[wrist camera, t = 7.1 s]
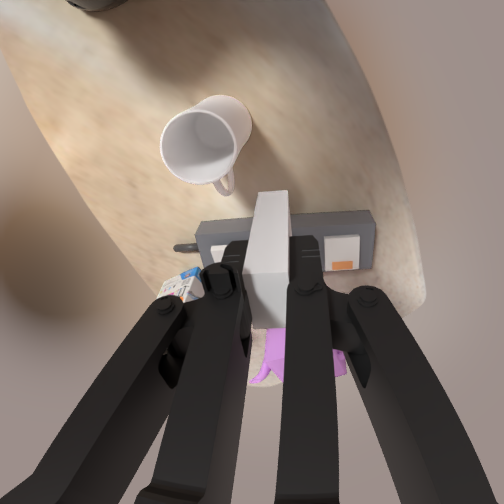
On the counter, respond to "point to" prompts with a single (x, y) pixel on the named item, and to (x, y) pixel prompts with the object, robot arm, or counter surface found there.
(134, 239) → the counter surface
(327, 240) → the rocker
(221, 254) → the rocker
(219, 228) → the power strip
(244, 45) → the counter surface
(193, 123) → the mug
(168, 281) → the ink box
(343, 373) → the teapot
